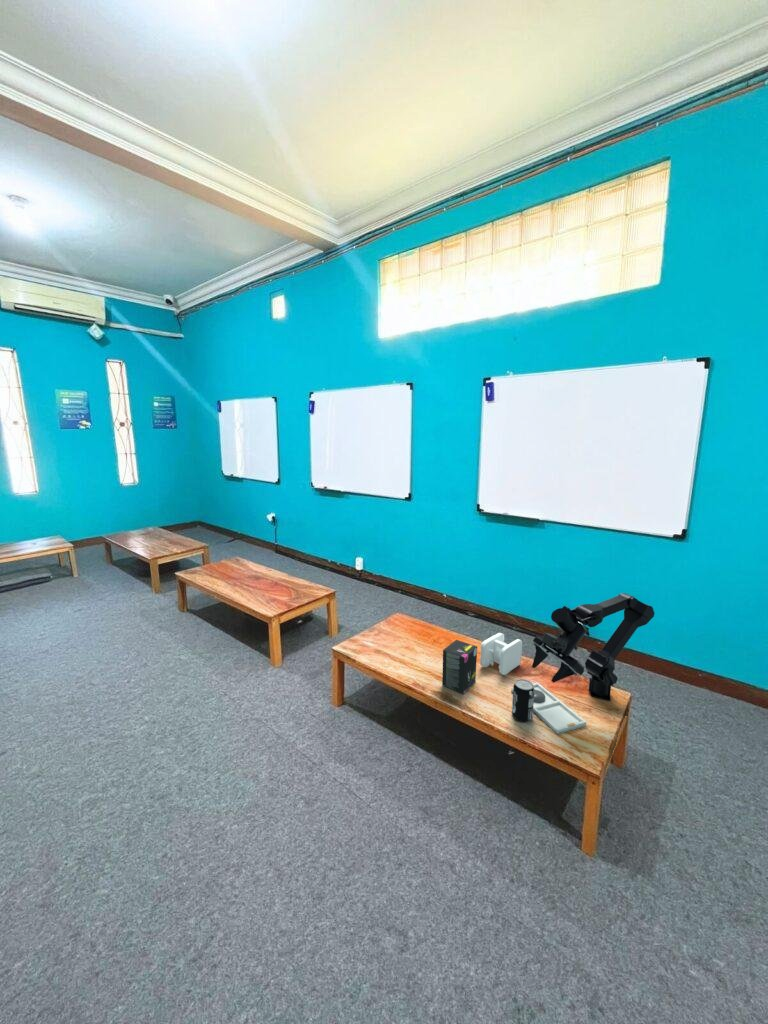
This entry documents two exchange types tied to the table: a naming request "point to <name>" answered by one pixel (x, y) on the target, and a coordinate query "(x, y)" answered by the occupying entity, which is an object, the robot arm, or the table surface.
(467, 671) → the tampon box
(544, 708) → the white divided tray
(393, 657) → the table surface
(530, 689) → the beverage can
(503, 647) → the cable organizer
